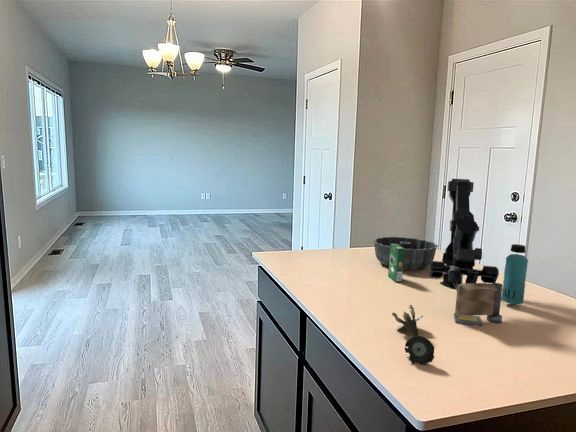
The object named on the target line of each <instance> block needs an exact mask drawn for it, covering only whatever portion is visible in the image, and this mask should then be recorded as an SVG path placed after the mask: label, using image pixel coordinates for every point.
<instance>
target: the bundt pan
mask: <svg viewBox="0 0 576 432" xmlns="http://www.w3.org/2000/svg"><path fill="white" fill-rule="evenodd" d="M372 243H374V252H375V253H374V254H375V258H376V259H377V260H378V262H379V263H381V264H382V265H385V266H387V267H388V268H389V257H390V244H391V243H394V244H398V245H400V246H401V247H403V248H404V249H405V253H404V264H403V271H406V270H407V269H409V270H423V269H424V268H428V267H430V265H431V262H432V261H434V259H435V256H436V251H437V249H438V247H439V245H438V244H436V243H435V242H432V241H428V240H426V239H420V238H414V237H406V236H382V237H376V238H375V239H373V242H372Z"/></svg>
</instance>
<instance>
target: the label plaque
mask: <svg viewBox="0 0 576 432" xmlns="http://www.w3.org/2000/svg"><path fill="white" fill-rule="evenodd" d="M453 317H454V323H455V324H462V325H469V326H476V327H482V326H483V322H482V319H481V318H480V315H468V316H457V315H455V312H453Z"/></svg>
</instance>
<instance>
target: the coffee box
mask: <svg viewBox="0 0 576 432" xmlns="http://www.w3.org/2000/svg"><path fill="white" fill-rule="evenodd" d="M404 253H405V249H404V248H403V247H401V246H400V245H398V244H394V243H391V244H390V257H389V267H388V274H387V276H388V277H389V278H390V279H391V280H392V281H394V282H395V283H402V282H403V275H404V269H403V264H404Z"/></svg>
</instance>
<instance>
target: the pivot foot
mask: <svg viewBox="0 0 576 432" xmlns="http://www.w3.org/2000/svg"><path fill="white" fill-rule="evenodd" d="M485 319H486V321H487V322H489V323H491V324H501V323H502V322H503V321H502V320H503V315H502V314H500V313H499V315H498V316H496V315H486V318H485Z"/></svg>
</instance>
